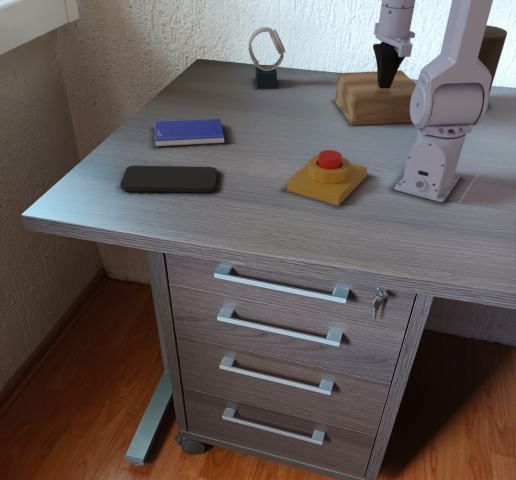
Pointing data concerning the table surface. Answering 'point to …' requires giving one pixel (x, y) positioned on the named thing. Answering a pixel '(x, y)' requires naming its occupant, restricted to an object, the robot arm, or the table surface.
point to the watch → (267, 73)
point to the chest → (371, 109)
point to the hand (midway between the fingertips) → (384, 86)
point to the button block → (327, 181)
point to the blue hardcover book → (188, 132)
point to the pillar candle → (492, 48)
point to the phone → (169, 179)
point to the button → (329, 159)
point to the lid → (376, 86)
